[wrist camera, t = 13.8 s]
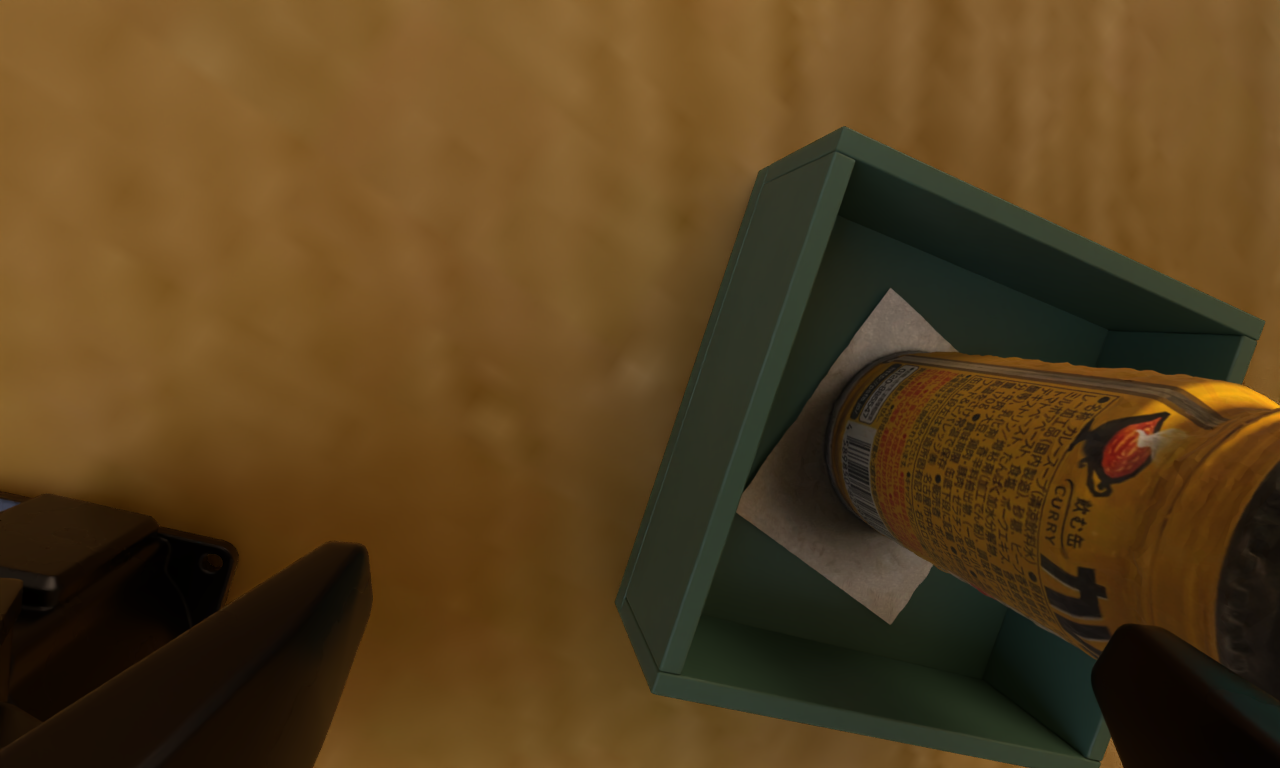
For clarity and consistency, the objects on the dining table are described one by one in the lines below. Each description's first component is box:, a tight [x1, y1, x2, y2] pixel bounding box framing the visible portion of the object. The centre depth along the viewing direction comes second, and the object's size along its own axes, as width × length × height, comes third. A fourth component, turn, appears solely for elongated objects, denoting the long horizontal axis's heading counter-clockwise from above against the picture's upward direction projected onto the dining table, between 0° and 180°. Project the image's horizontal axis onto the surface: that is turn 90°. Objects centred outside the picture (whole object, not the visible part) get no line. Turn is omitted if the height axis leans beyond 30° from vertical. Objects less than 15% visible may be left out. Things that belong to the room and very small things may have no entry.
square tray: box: [615, 126, 1265, 768], centre depth 19 cm, size 14×14×5 cm
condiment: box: [736, 288, 1280, 701], centre depth 15 cm, size 7×8×12 cm
